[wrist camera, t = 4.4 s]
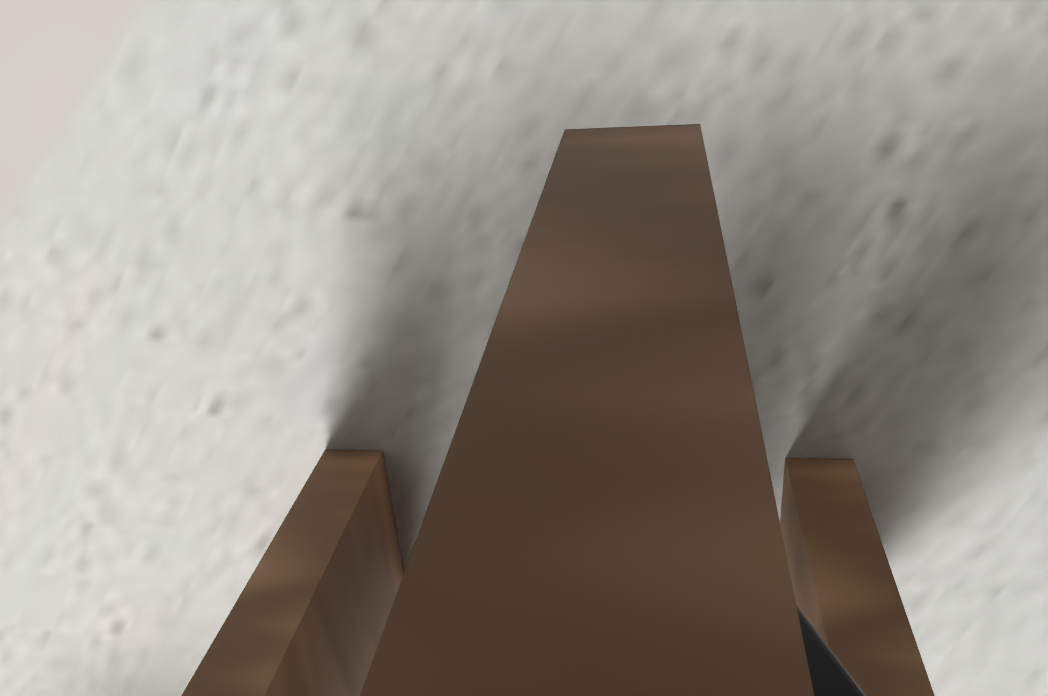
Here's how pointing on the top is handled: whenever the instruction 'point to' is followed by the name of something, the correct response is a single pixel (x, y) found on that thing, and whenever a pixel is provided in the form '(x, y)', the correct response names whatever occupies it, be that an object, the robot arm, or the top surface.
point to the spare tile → (605, 462)
